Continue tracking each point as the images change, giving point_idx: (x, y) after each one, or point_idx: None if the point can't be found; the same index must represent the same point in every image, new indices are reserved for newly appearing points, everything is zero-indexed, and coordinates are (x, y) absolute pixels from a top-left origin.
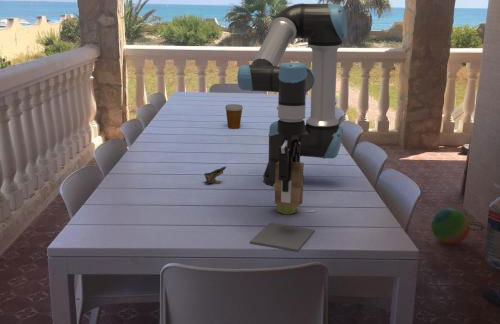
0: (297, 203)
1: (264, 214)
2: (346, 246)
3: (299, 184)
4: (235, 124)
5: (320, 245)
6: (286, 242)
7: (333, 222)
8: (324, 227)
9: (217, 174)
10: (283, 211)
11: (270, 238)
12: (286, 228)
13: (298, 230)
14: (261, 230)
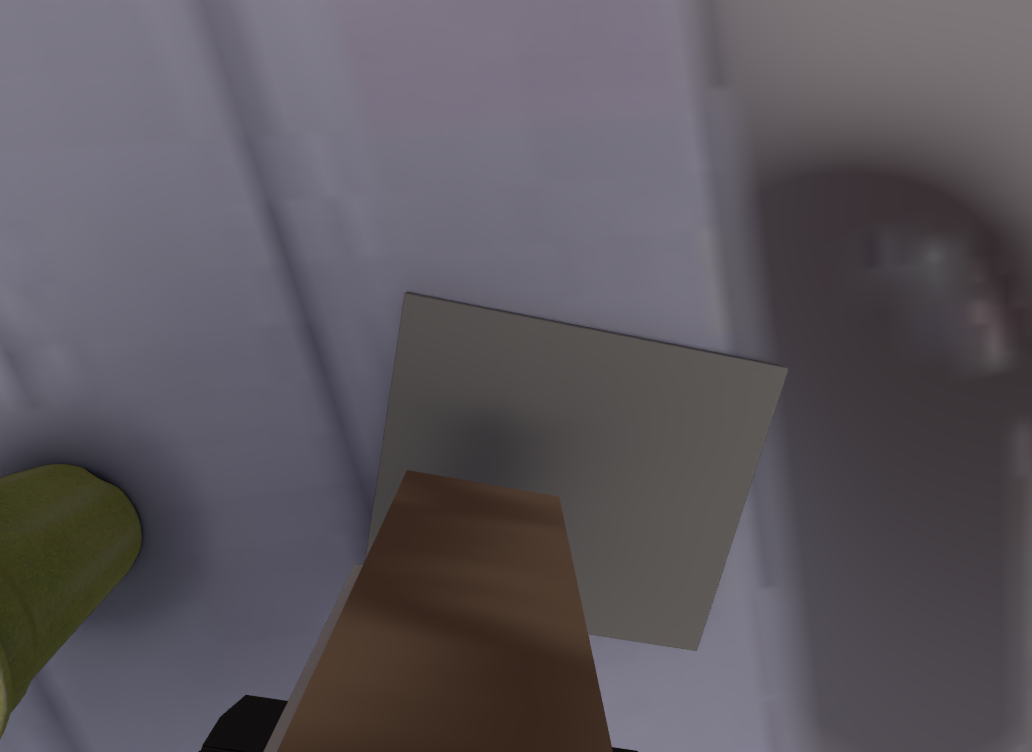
0: (562, 523)
1: (192, 648)
2: (643, 28)
3: (554, 701)
4: None
5: (656, 228)
6: (682, 452)
7: (168, 160)
8: (302, 226)
9: None
10: (131, 551)
11: (634, 552)
12: None
13: (454, 404)
14: None
